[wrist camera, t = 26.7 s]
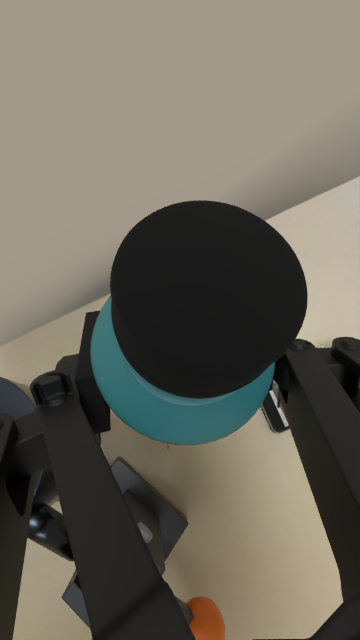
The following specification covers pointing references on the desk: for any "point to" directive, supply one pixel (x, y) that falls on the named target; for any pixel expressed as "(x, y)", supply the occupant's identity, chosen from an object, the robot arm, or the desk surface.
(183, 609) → the lever switch
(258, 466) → the desk surface
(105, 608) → the robot arm
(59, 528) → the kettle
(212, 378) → the beverage bottle
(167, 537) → the switch bracket
